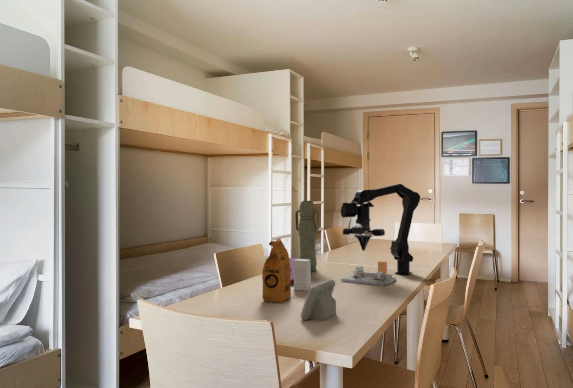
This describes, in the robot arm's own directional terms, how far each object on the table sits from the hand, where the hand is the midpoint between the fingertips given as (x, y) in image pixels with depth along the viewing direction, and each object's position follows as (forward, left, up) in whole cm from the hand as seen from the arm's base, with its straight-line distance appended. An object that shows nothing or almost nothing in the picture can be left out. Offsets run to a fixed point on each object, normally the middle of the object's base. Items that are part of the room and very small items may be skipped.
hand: (363, 250), depth 208 cm
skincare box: (+38, -11, -12) cm, 41 cm away
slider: (+7, +11, -10) cm, 16 cm away
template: (+9, +6, -12) cm, 16 cm away
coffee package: (+57, -11, -12) cm, 59 cm away
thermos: (-2, -31, -12) cm, 34 cm away
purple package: (+27, -24, -12) cm, 38 cm away
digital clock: (+68, +12, -12) cm, 71 cm away
